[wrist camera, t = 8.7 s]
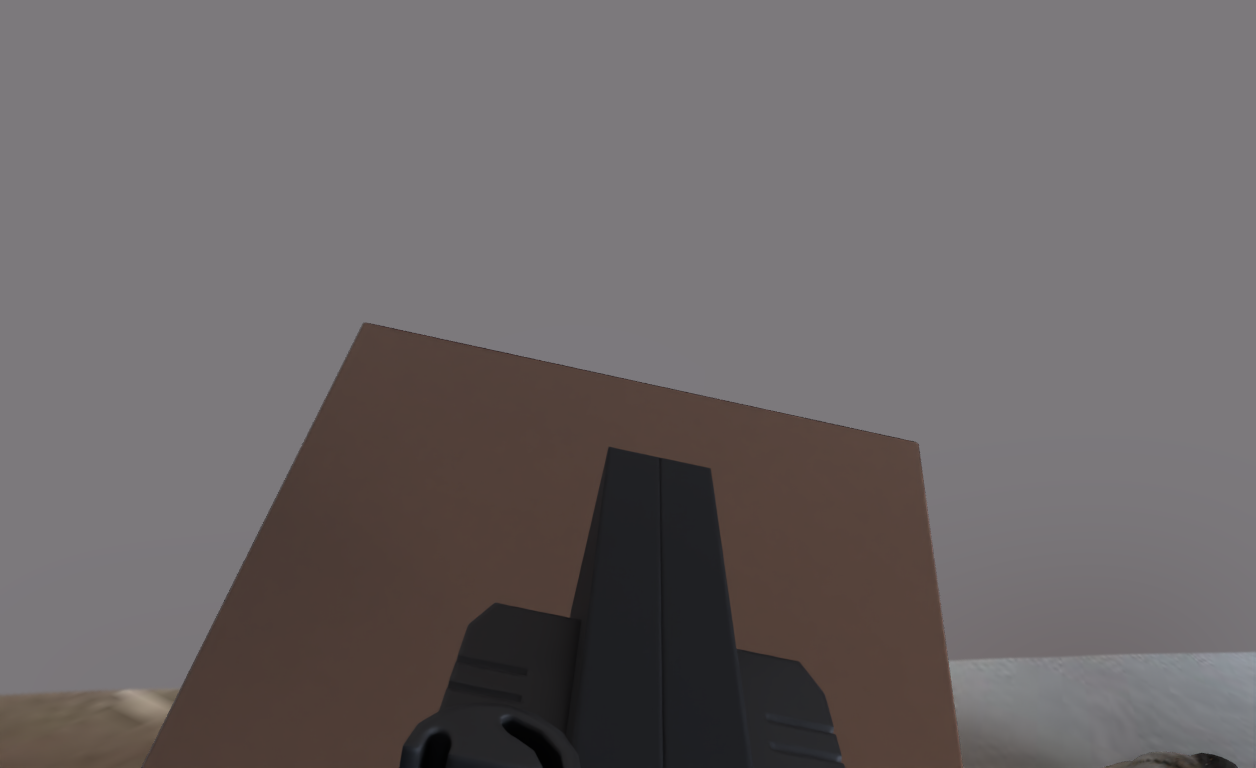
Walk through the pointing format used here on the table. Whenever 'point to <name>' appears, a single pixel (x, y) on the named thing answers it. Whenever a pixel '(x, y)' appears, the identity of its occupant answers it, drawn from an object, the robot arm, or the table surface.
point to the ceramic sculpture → (1175, 761)
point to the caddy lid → (550, 555)
